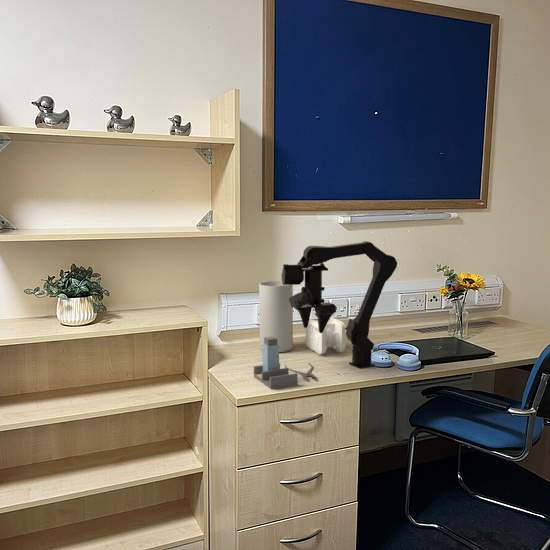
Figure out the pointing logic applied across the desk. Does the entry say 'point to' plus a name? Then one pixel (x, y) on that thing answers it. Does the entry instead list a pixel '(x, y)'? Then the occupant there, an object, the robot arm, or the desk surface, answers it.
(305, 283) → the robot arm
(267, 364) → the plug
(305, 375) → the pliers
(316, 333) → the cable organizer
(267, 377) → the grey slotted holder
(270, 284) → the cylinder vase
